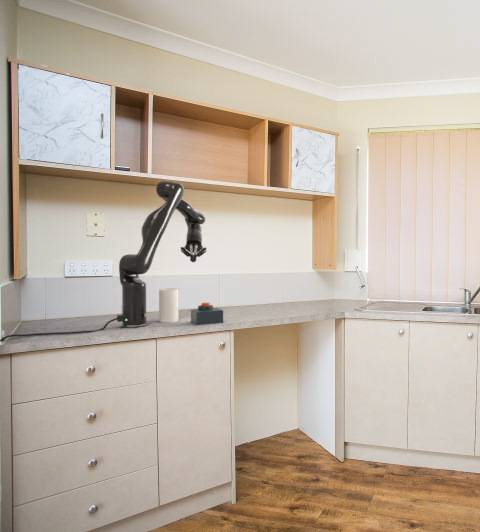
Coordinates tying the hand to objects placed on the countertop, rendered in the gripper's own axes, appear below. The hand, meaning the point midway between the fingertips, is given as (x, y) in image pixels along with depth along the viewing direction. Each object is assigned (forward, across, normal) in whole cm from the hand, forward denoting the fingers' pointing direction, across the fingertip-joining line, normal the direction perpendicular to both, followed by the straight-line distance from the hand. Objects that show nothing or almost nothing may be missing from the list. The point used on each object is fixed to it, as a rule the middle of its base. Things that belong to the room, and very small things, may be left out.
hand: (193, 261), depth 207 cm
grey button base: (+35, +7, +7) cm, 36 cm away
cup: (+28, -10, +15) cm, 33 cm away
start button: (+27, +6, +4) cm, 28 cm away
